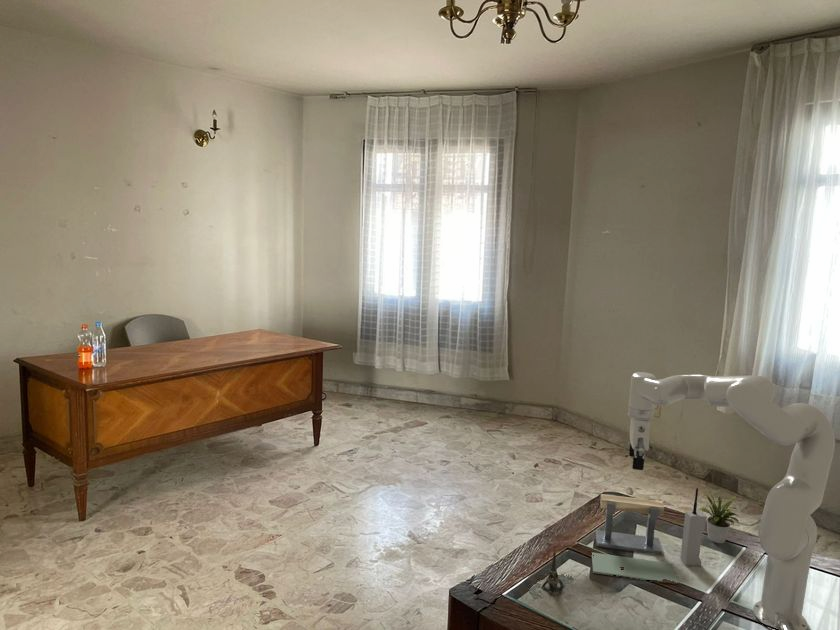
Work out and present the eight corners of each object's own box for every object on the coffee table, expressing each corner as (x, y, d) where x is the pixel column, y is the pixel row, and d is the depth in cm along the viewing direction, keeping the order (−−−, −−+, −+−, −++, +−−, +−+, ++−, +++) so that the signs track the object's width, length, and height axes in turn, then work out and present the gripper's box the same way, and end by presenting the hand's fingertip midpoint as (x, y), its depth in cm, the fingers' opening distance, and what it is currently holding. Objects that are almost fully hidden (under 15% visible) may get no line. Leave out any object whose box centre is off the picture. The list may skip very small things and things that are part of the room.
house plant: (692, 546, 195) (697, 500, 192) (686, 524, 208) (691, 481, 205) (740, 554, 191) (746, 507, 188) (732, 532, 204) (737, 487, 201)
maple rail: (663, 515, 190) (664, 507, 189) (601, 508, 194) (601, 499, 193) (661, 509, 194) (662, 501, 193) (600, 502, 198) (600, 493, 197)
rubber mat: (678, 585, 175) (678, 583, 175) (593, 572, 180) (593, 571, 180) (671, 565, 185) (672, 563, 185) (591, 554, 190) (591, 552, 190)
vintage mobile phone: (701, 566, 185) (710, 491, 180) (685, 565, 185) (693, 491, 180) (695, 559, 188) (704, 485, 183) (680, 558, 188) (688, 485, 183)
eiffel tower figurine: (569, 573, 181) (572, 533, 178) (584, 595, 171) (587, 552, 168) (521, 578, 178) (524, 537, 175) (534, 600, 168) (536, 557, 166)
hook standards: (662, 555, 190) (666, 511, 187) (597, 546, 194) (600, 503, 191) (658, 541, 198) (662, 499, 195) (595, 533, 202) (598, 492, 199)
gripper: (657, 423, 178) (652, 476, 182) (649, 404, 195) (644, 453, 198) (631, 420, 180) (626, 473, 183) (625, 401, 197) (621, 450, 200)
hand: (635, 462), depth 191 cm, fingers open, 9 cm apart
